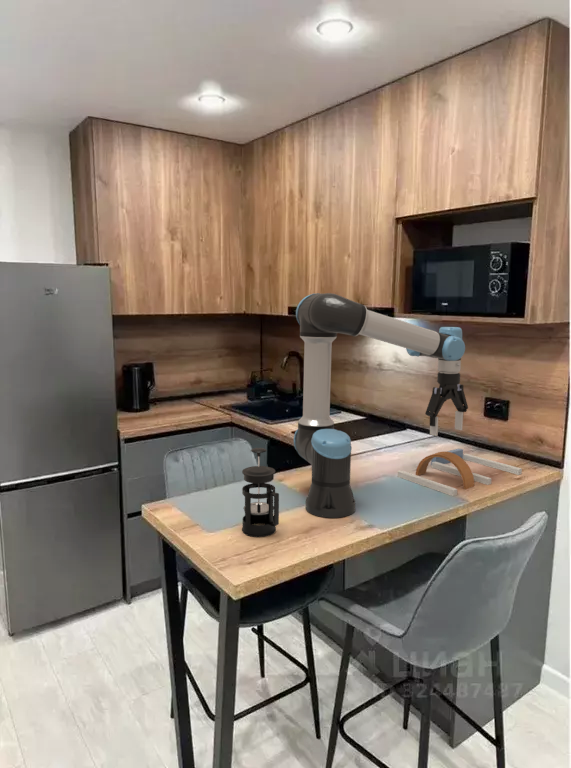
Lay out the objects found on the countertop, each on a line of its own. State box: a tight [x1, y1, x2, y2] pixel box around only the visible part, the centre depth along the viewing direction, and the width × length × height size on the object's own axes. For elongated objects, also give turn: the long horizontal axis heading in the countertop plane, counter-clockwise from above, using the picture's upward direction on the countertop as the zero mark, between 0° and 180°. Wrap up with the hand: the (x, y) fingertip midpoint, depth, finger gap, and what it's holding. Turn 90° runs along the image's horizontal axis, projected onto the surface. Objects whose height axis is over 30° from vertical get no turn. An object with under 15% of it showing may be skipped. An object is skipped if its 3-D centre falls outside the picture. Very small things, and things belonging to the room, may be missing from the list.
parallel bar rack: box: [397, 448, 523, 497], centre depth 193 cm, size 40×26×4 cm, turn 126°
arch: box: [415, 451, 475, 490], centre depth 186 cm, size 6×20×10 cm, turn 42°
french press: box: [241, 447, 280, 538], centre depth 143 cm, size 12×9×23 cm
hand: (446, 432), depth 185 cm, fingers open, 13 cm apart
